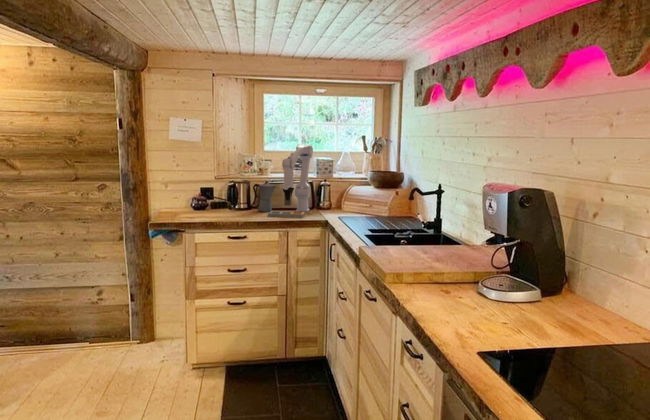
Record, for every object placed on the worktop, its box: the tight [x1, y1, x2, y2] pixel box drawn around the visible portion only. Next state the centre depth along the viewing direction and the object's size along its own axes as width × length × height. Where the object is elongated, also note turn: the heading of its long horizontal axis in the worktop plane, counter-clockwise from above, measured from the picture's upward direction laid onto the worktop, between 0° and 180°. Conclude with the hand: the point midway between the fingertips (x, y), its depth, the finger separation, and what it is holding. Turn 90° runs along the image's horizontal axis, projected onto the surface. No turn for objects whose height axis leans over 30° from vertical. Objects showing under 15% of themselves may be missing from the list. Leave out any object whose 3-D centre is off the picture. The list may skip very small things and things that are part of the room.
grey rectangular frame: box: [267, 210, 306, 218], centre depth 302 cm, size 8×22×2 cm, turn 82°
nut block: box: [283, 194, 292, 206], centre depth 300 cm, size 4×4×8 cm
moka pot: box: [252, 180, 277, 213], centre depth 317 cm, size 10×15×20 cm, turn 89°
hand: (288, 199), depth 300 cm, fingers closed on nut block, 4 cm apart
